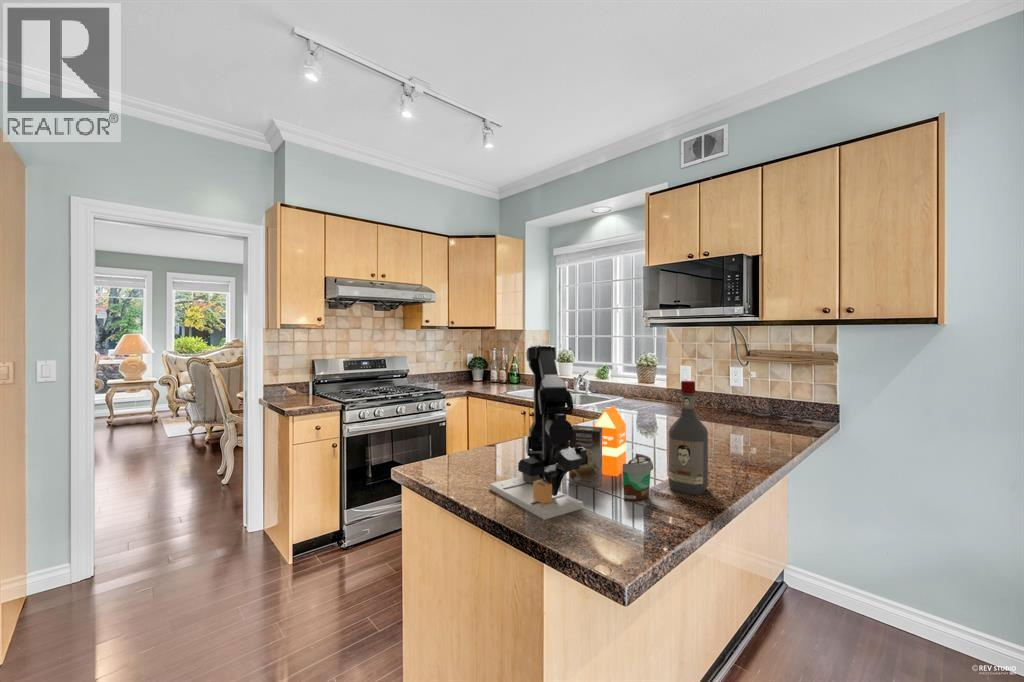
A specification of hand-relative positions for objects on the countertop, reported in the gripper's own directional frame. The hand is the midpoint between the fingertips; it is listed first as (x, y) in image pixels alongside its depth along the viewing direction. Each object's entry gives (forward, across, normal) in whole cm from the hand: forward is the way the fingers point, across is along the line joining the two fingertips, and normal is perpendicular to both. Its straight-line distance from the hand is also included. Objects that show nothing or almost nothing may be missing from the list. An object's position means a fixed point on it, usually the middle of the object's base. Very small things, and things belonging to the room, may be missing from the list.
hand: (554, 495), depth 114 cm
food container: (+3, +22, -9) cm, 24 cm away
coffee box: (+3, +18, +8) cm, 20 cm away
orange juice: (+3, +32, +12) cm, 34 cm away
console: (+2, -2, +7) cm, 7 cm away
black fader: (0, +2, +13) cm, 13 cm away
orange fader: (0, -4, 0) cm, 4 cm away
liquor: (+3, +38, -12) cm, 40 cm away
